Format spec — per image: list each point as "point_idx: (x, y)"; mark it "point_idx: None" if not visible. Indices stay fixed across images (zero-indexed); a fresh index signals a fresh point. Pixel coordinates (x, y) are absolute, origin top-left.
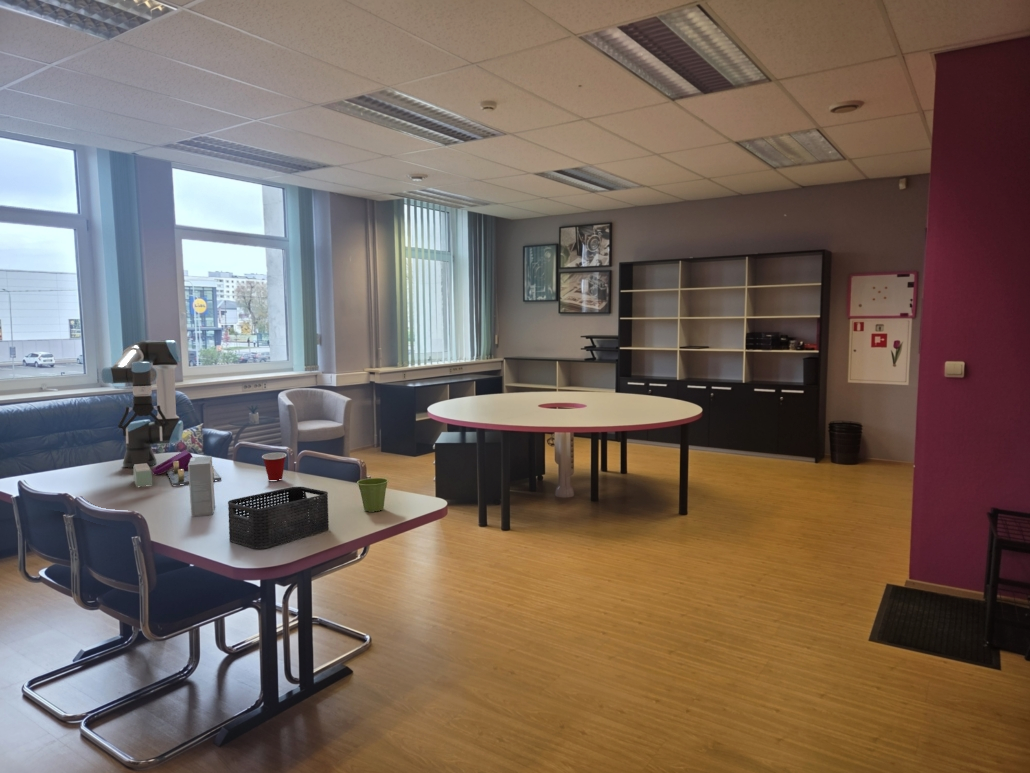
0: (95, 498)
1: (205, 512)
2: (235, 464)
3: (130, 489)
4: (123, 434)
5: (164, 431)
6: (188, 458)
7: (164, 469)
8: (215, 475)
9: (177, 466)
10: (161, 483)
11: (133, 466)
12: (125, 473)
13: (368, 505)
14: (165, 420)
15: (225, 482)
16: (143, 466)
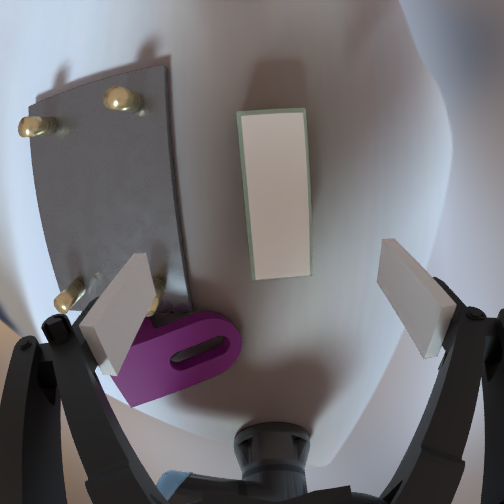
0: (407, 33)
1: None
2: (36, 335)
3: (315, 95)
4: (443, 285)
5: (88, 306)
6: None
7: (197, 317)
8: (38, 147)
9: None
10: (205, 145)
11: (311, 266)
12: (314, 378)
13: None
14: (19, 373)
15: (30, 77)
16: (271, 195)
